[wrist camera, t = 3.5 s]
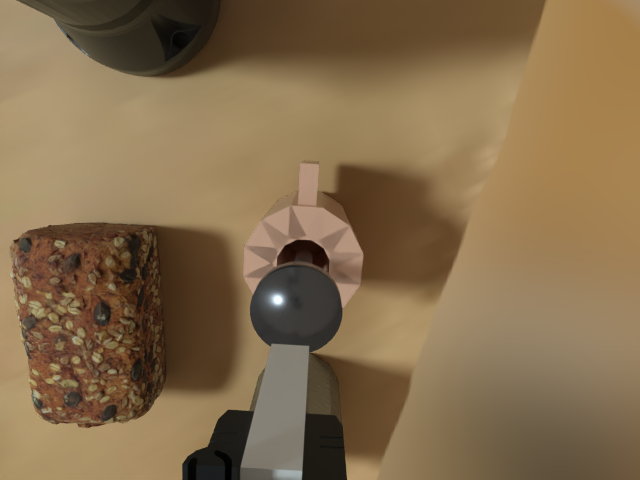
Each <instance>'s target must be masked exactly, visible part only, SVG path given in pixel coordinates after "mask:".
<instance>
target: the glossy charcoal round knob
mask: <svg viewBox="0 0 640 480" xmlns="http://www.w3.org/2000/svg"><path fill="white" fill-rule="evenodd" d="M312 262H313V255H312V253H311V252H310V251H309V250H308V249H301V250H299V251H298V252H297V254H296V257H295V261H294V262H287V263H283V264H281V265H278V266H276V267H274V268H272V269H271V270H270V271H268V272H267V273H266V274H265V275H264V276H263V278H262V279H261V280H260V282H259V284H258V285H257V287H256V290H255V292H254V294H253V297H252V300H251V305H250V316H251V321H252V324H253V327H254V329H255V331H256V332H257V334H258V335H259V337H260V338H261V339H262V340H263V341H264V342H265V343H266V344H268V345H269V346H271V344H285V345H301V346H309V352H313V351H315V350H318V349H319V348H321V347H323V346H324V345H326V344H327V343H328V342H329V341H330V340H331V339H332V338H333V337H334V335H335V334H336V332H337V331H338V329H339V326H340V323H341V320H342V302H341V296H340V292H339V289H338V287H337V285H336V283H335V281H334V280H333V278H332V277H331V276H330V275H329V274H328V273H327V272H326V271H324V270H323V269H322V268H320V267H318V266H316V265H313V264H312Z"/></svg>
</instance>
